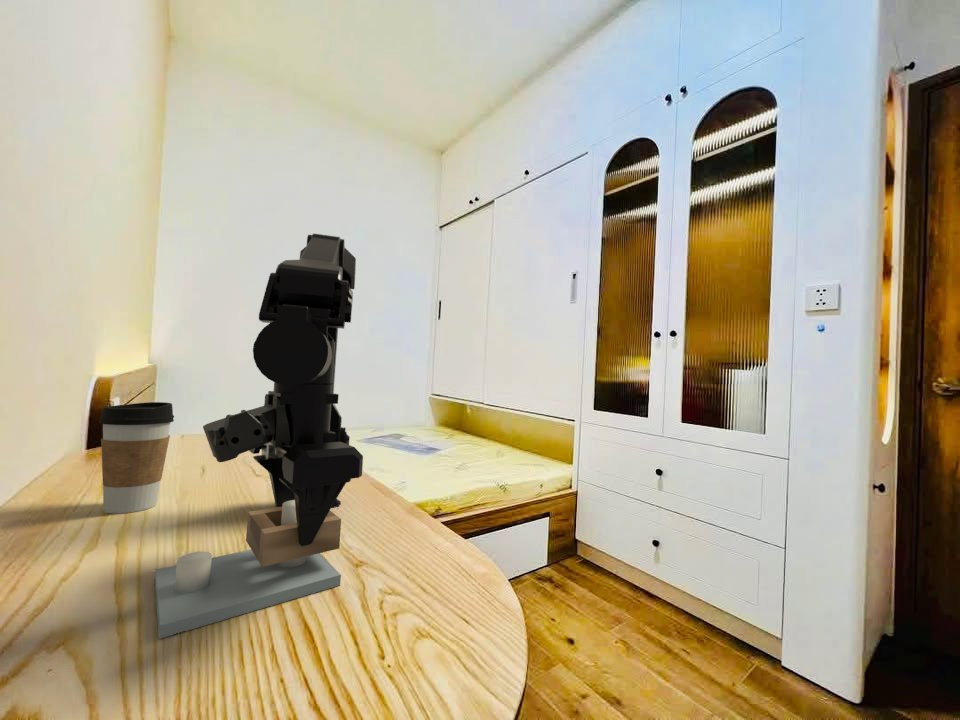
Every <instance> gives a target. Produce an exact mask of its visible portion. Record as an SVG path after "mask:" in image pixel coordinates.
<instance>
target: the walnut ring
mask: <svg viewBox="0 0 960 720" xmlns="http://www.w3.org/2000/svg"><path fill="white" fill-rule="evenodd" d="M281 517H282V507H276V506H275V507H271V508H264V509H257V510H252V511H251V510H250V511H247V519H246V520H247V523H246V536H245V541H246V543H247V545H248V547H249V548H250V550H252V551H253V553H254V555H255V556H256V558H257V560H258V561H259V563H260V565H261V566H262V567H264V566H268V565H272V564H277V563H281V562H285V561H289V560H293V559H298V558H302V557H306V556H310V555H314V554H319V553H320V554H321V553H322V554H323V553H327V552H330V551H334V550H339V549H340V548H341V547H340V544H341V529H342V528H341V526H342V518H340V517H339V516H338V515H337V514H335V512H333V511H331V510H330V511H329V512H328V514H327V516H326V518H325V520H324V522H323V524H322V525H321V527H320V529H319V531H318V533H317V535H316V537H315V539H314V540H313V542H312V543H311V544H310V545H305V546H301V545H300V544H299V538H298V530H297V523H292V524H287V525H282V526H281Z"/></svg>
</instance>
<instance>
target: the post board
mask: <svg viewBox="0 0 960 720" xmlns="http://www.w3.org/2000/svg"><path fill="white" fill-rule="evenodd" d="M292 523H297V519H296V508H295V500H290V501H286V502H284V503H283V504H282V517H281V526H282V525H287V524H292ZM154 571H155V572H154V590H155V602H156V603H155V605H156V614H157V615H156V616H157V619H156V620H157V629H158V639H159V640H161V639H165V638H168V637H170V636H171V637H172V636H174V634H175V635H177V634H176V633H178V634H180V633H179V632H181V633H183V632H182V631H185V632H188V631H191V630H195V629H198V628H201V627H204V626H207V625H211V624H215V623H218V622H221V621H225V620H229V619H232V618H235V617H238V616H241V615H244V614H248V613H252V612H255V611H258V610H261V609H264V608H268V607H271V606H275V605H278V604H282V603H285V602H288V601H292V600H295V599H298V598H302V597H305V596H306V597H307V596H308V595H311V594H312V595H313V594H316V593H318V592H322V591H325V590H328V589H332V588H336V587H340V586H341V578H342V577H341V576H342V575H341V573H340V572H339V571H338V570H337V569H336V568H335V567H334V566H333V565H332V564H331V562H329V561H328V560H327V559H326V558H325V557H324V555H322V554H321V553H319V554H314V555H310V556H306V557H302V558H298V559H293V560H289V561H285V562H281V563H277V564H272V565H268V566H264V567H262V566H261V565H260V563H259V561H258V560H257V558H256V556H255V555H254V553H253V551H252V550H251V549H247V550H242V551H237V552H233V553H228V554H223V555H222V554H221V555H218V556H213V554H212V552H210V551H203V550H202V551H193V552H189V553H185V554H183V555H182V556H180V557H179V558H177V560H176V565H171V566H166V567H162V568H161V567H160V568H158V569H154Z"/></svg>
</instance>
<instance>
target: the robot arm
mask: <svg viewBox="0 0 960 720" xmlns="http://www.w3.org/2000/svg"><path fill="white" fill-rule="evenodd" d="M345 246H346V245H345V239H342V238H341V237H340V236H335V235H329V234H328V235H327V234H320V233H313V234H308V235H307V238H306V245H305V247H303V248H302V249H301V250H300V252H299V259H285V260H284V261H281V262H280V263H279V264H278V265H277V266H276V268H275V269H276V270H275V272H270V274H269V276H268V279H267V283H266V286H265V291H264V294H263V298H262V301H261V302H262V303H261V306H260V309H259V312H258V320H259V322H261V323H263V324H264V323H267V325H266V326H264V327H262V329H261V330H260V332H259V333H258V334H257V335H256V338H255V341H254V342H253V347H252V353H253V360H254V363H255V366H256V368H257V369H258V371H260V373H261V374H262V375H263V376H264V377H266V379H268V380H270V381H271V382H273V390H268V393H265V395H264V402H263V403H264V404H263V405H262V406H258V407H256V408H253V409H248V410H246V409H242V410H240V412H239V413H236V414H227V415H226V416H225V417H224V418H220V419H217V420H214V421H211V422H208V423H206V424H204V425H203V426H202V428H203V431H204V433H205V437H206V439H207V442H208V446H209V449H210V450H211V453H212V456H213V457H214V458H215V459H216V461H217V462H218V463H223V462H224V463H225V462H229V461H231V460H234V459H236V458H238V456H239V455H242V454H243V453H247V452H249V453H251V454H253V455H254V456H253V459H254V460H255V461H256V462H257V463H258V464H259V465H260V466H261V467H262V468H264V469H265V470H266V471H267V472H268V475H269V479H270V485H271V490H272V494H273V498H274V505H275V507H282V504H283V503H284V502H286V501H290V500H295V508H296V519H297V530H298V538H299V544H300V545H301V546H305V545H310V544H311V543H312V542H313V540H314V539H315V537H316V535H317V533H318V531H319V529H320V527H321V525H322V524H323V522H324V520H325V518H326V516H327V514H328V512H329V511H331V509H332V507H336V506H341V504H342V501H340V500H339V499H338V497H339V495H340V494H341V492H342V490H343V489H344V488H345V485H346V484H347V483H350V482H351V480H353V479H359V478H361V477H362V476H363V466H364V465H363V463H364V456H363V455H362V454H361V452H360V451H359V450H358V449H357V448H356V447H355V446H352V445H351V444H350V435H348V434H347V433H348V432H347V431H346V429H347V427H342V421H343V420H342V419H343V417H342V415H341V413H340V412H339V410H338V409H337V408H338V407H337V406H336V404H339V396H340V395H339V394H338V393H334V391H335V381H336V380H335V378H336V363H337V362H336V361H337V350H338V349H337V348H338V333H339V329H344V330H345V326H346V323H352V311H353V298H354V292H353V290H355V289H356V287H355V285H356V267H357V265H356V263H357V259H356V257H355V256H354V255H353V254H352V253H351V252H350V251H349V250H348V249H347V248H346V247H345ZM260 452H261V455H257V454H260Z"/></svg>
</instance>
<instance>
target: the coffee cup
mask: <svg viewBox="0 0 960 720" xmlns="http://www.w3.org/2000/svg"><path fill="white" fill-rule="evenodd" d="M173 412H174V411H173V403H171V402H163V401H160V402H159V401H155V402H154V401H149V402H139V403H137V402H136V403H128V404H126V403H125V404H119V405H117V404H116V405H108V406H104V407H103V409H102V413H101V416H100V417H99V424H102V437H101V438H100V442H101V444H100V445H101V446H100V447H101V468H102V469H101V472H102V476H101V477H102V491H103V493H102V496H103V497H102V498H103V499H102V501H103V503H102V505H103V506H102V507H103V508H102V509H103V512H104V513H107V514H116V515H117V514H129V513H137V512H141V511H145V510H148V509H151V508H153V507H155V506H157V504H158V499H159V494H160V488H161V481H162V477H163V473H164V468H165V467H164V466H165V464H166V463H165V462H166V457H167V452H168V448H169V447H168V446H169V442H170V438H171V436H170V433H169V432H170V428H171V423H173V422H174V421H175V420H174V418H175V416H174V413H173Z"/></svg>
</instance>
